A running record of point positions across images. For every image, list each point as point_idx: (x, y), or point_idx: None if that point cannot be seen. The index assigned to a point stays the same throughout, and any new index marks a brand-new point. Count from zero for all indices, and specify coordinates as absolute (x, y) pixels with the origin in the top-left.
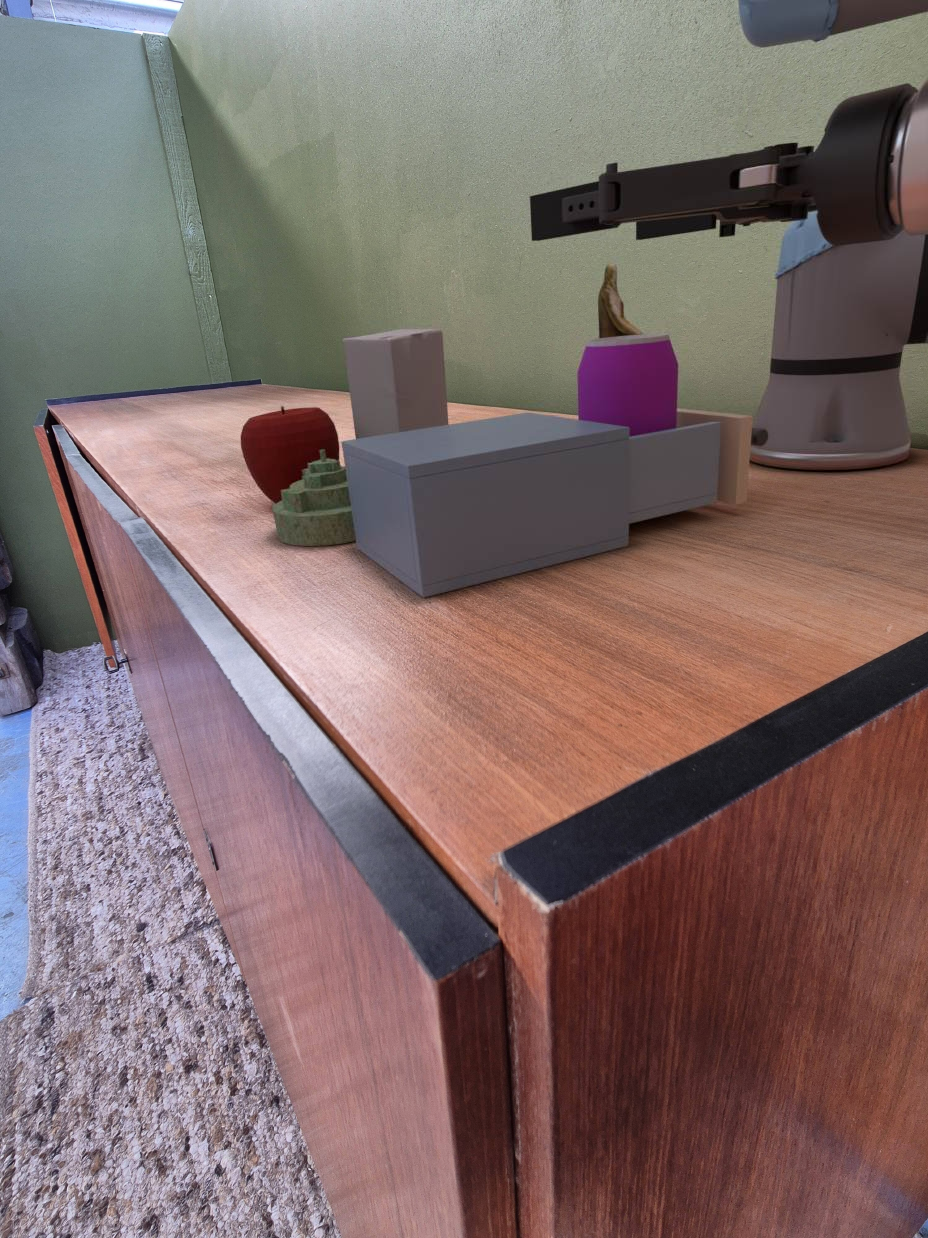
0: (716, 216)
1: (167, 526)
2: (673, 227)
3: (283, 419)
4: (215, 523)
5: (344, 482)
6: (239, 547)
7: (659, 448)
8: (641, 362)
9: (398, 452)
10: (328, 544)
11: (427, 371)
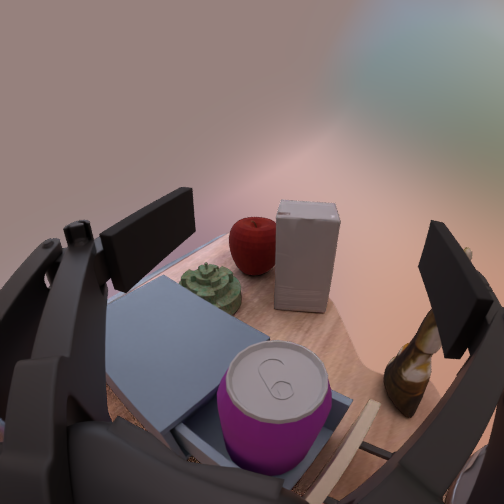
0: (468, 344)
1: (211, 245)
2: (434, 296)
3: (239, 229)
4: (217, 256)
5: (204, 286)
6: (179, 280)
7: (212, 462)
8: (225, 413)
9: (111, 310)
10: None
11: (312, 245)
